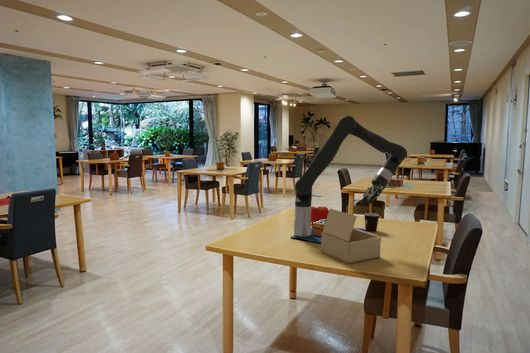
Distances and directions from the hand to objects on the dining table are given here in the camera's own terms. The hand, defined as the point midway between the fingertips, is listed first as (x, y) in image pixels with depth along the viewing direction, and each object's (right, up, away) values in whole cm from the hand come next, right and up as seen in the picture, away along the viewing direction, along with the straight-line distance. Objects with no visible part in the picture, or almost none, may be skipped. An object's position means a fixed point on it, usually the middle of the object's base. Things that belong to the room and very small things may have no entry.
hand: (365, 203), depth 200 cm
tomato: (-17, -17, +53) cm, 58 cm away
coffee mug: (+13, -19, +39) cm, 46 cm away
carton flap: (-18, -15, -14) cm, 27 cm away
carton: (-10, -25, -8) cm, 28 cm away
